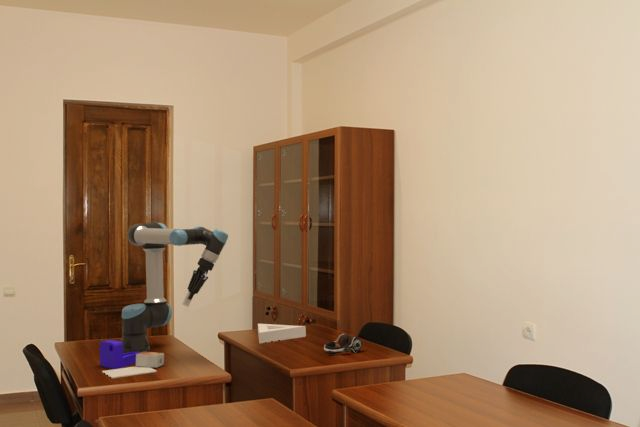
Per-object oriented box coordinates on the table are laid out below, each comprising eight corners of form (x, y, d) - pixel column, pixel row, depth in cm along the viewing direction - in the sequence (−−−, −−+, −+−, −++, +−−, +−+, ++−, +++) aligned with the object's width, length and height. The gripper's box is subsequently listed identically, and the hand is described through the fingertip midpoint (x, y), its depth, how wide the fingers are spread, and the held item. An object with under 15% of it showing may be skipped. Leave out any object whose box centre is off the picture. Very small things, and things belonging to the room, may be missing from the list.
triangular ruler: (258, 334, 414) (257, 323, 414) (303, 332, 416) (303, 321, 416) (259, 344, 384) (259, 332, 384) (308, 342, 387) (308, 330, 387)
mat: (101, 372, 323) (101, 370, 323) (145, 366, 333) (145, 364, 333) (111, 378, 310) (111, 377, 310) (157, 372, 321) (157, 370, 321)
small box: (157, 355, 328) (135, 353, 330) (157, 368, 328) (135, 366, 329) (164, 352, 336) (143, 351, 337) (163, 365, 335) (142, 363, 337)
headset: (365, 336, 356) (330, 346, 346) (367, 351, 356) (333, 362, 346) (346, 331, 370) (313, 341, 361) (349, 345, 371) (315, 356, 361)
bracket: (114, 369, 328) (114, 343, 328) (100, 366, 335) (99, 341, 335) (146, 362, 343) (146, 337, 342) (131, 359, 349) (131, 335, 349)
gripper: (219, 266, 343) (196, 311, 340) (208, 261, 354) (186, 304, 351) (206, 259, 339) (183, 305, 336) (196, 254, 350) (173, 299, 347)
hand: (185, 305), depth 343 cm, fingers closed
